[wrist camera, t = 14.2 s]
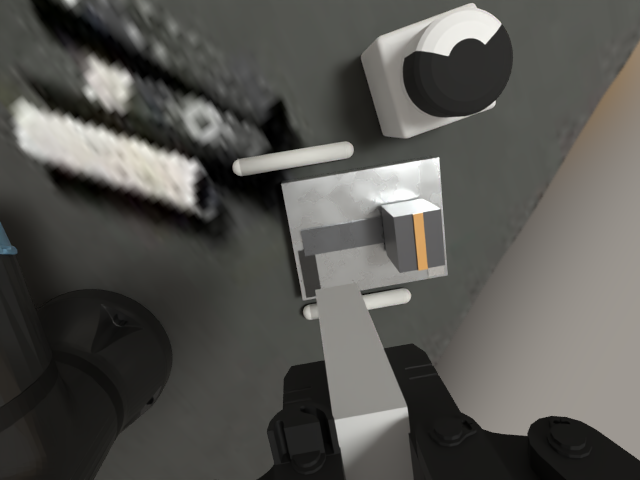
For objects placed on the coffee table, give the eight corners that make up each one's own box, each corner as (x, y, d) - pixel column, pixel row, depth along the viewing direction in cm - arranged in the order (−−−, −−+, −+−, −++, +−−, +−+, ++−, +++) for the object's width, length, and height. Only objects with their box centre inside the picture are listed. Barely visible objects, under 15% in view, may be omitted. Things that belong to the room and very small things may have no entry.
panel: (302, 292, 43) (303, 301, 40) (281, 181, 39) (281, 184, 37) (440, 268, 43) (448, 276, 41) (431, 155, 39) (440, 157, 37)
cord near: (235, 176, 39) (233, 178, 37) (232, 159, 38) (229, 161, 37) (353, 156, 39) (355, 157, 37) (351, 139, 39) (353, 140, 37)
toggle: (386, 255, 39) (400, 273, 34) (380, 205, 38) (394, 217, 33) (426, 248, 39) (446, 265, 34) (422, 198, 38) (441, 209, 33)
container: (458, 110, 38) (538, 102, 26) (382, 137, 39) (425, 142, 26) (439, 25, 36) (516, -27, 24) (358, 55, 37) (393, 18, 24)
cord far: (304, 316, 43) (304, 323, 42) (301, 303, 43) (302, 309, 41) (409, 298, 44) (413, 304, 42) (407, 284, 43) (412, 290, 42)
